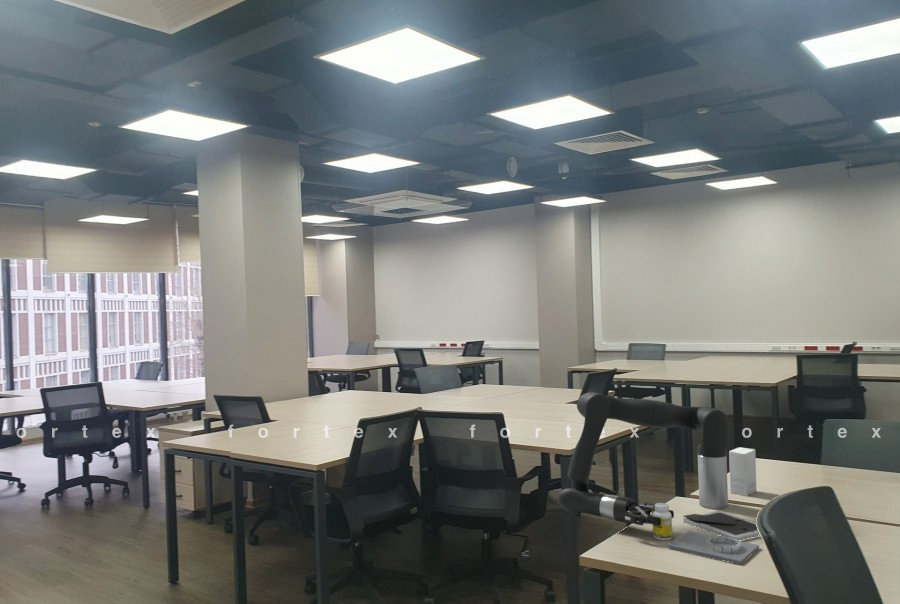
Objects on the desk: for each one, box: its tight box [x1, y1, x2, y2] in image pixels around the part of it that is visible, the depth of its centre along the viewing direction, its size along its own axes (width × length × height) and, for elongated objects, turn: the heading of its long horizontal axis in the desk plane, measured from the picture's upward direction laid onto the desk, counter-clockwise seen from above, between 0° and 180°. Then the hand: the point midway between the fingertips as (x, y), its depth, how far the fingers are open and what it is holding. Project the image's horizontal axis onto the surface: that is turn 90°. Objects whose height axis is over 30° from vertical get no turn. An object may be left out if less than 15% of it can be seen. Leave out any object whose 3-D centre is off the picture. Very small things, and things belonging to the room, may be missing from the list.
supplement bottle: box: [652, 502, 673, 541], centre depth 197 cm, size 5×5×10 cm
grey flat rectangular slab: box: [667, 530, 760, 565], centre depth 187 cm, size 15×20×1 cm
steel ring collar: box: [706, 535, 742, 553], centre depth 185 cm, size 9×9×2 cm
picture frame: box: [682, 510, 760, 540], centre depth 204 cm, size 16×3×21 cm
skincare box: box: [728, 446, 757, 497], centre depth 240 cm, size 8×7×16 cm
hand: (667, 518), depth 196 cm, fingers open, 8 cm apart
